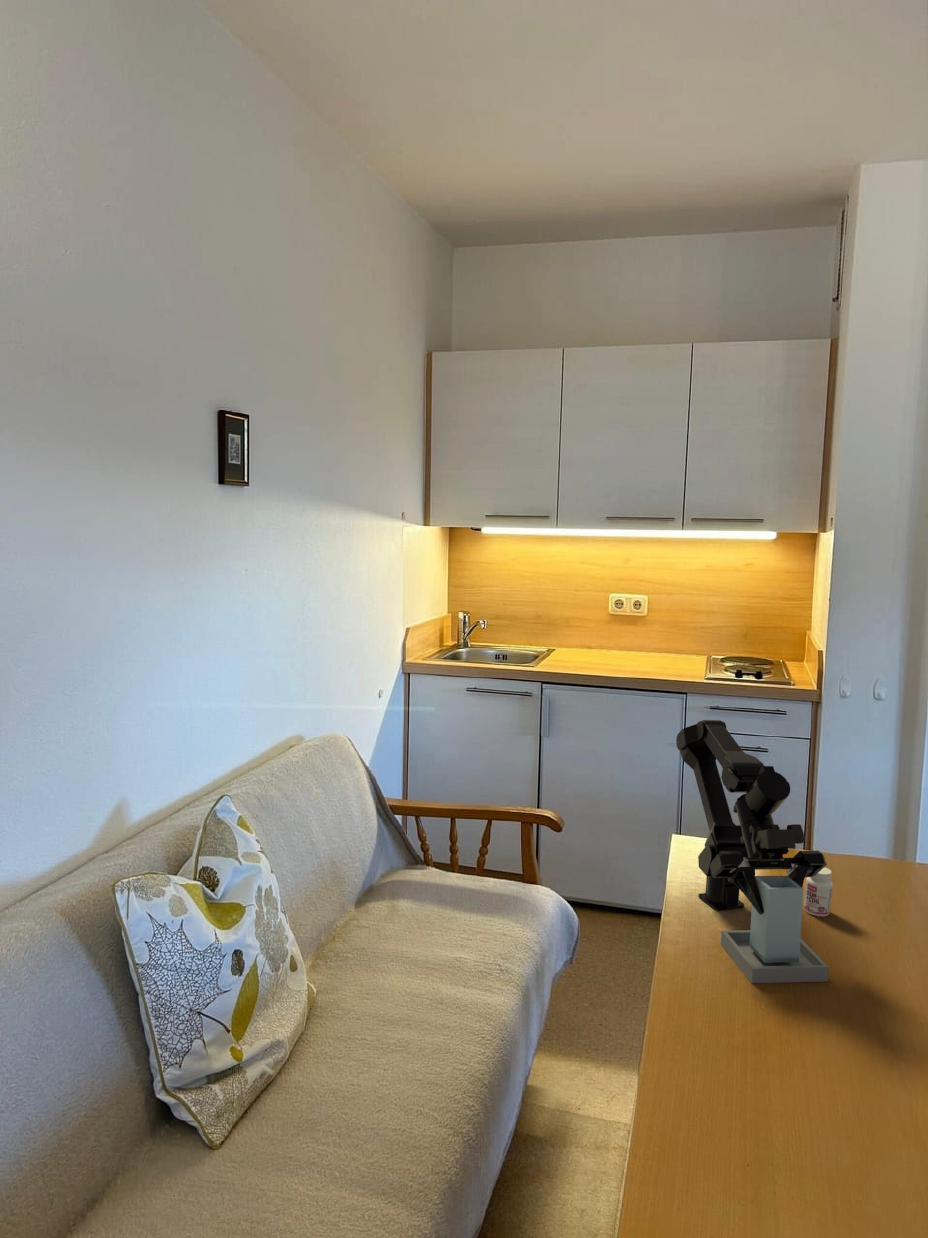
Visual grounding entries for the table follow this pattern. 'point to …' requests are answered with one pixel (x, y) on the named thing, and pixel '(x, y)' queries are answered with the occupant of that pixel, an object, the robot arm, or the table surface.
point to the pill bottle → (819, 893)
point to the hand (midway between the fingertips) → (780, 913)
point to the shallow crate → (776, 972)
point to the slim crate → (777, 920)
